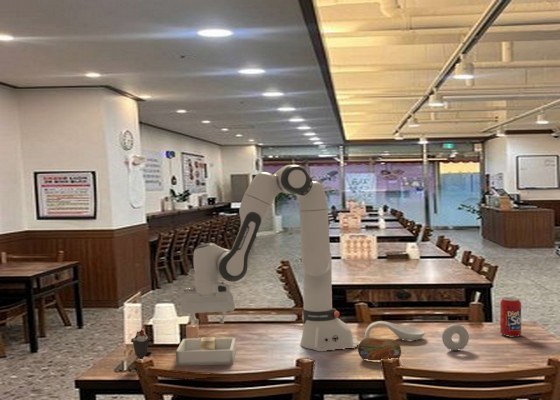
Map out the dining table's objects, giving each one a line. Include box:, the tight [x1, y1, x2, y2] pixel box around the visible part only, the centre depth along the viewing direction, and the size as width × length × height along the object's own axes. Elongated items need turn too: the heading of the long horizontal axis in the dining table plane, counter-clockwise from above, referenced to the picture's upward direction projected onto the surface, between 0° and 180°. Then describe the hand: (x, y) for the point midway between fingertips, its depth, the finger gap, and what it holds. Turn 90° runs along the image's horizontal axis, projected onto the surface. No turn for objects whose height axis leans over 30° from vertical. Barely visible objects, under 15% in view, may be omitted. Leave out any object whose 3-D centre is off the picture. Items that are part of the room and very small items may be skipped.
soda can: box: [499, 296, 522, 337], centre depth 231 cm, size 8×8×15 cm
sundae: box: [130, 326, 151, 360], centre depth 202 cm, size 7×7×15 cm
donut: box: [441, 323, 470, 351], centre depth 213 cm, size 10×4×10 cm, turn 95°
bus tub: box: [175, 337, 237, 367], centre depth 211 cm, size 20×16×5 cm
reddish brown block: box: [185, 323, 200, 339], centre depth 230 cm, size 5×5×7 cm
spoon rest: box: [364, 320, 426, 341], centre depth 229 cm, size 24×12×7 cm, turn 86°
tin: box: [357, 337, 402, 361], centre depth 203 cm, size 15×3×8 cm, turn 68°
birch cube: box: [201, 336, 217, 350], centre depth 215 cm, size 5×5×5 cm
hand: (209, 323), depth 214 cm, fingers open, 8 cm apart
